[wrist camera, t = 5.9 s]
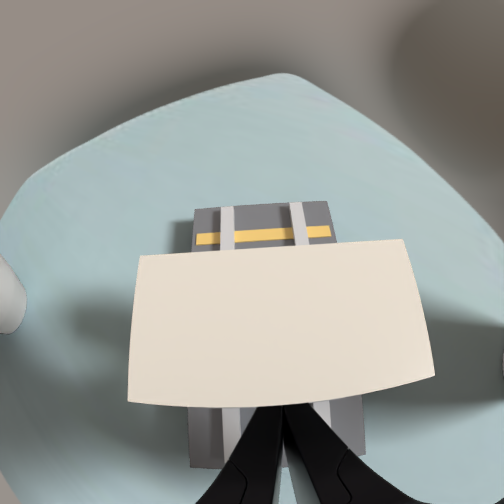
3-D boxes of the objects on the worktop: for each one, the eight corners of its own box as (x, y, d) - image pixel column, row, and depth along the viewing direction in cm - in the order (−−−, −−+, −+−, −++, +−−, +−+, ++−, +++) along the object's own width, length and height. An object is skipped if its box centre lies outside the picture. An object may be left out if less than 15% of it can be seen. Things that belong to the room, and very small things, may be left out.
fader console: (354, 449, 13) (369, 456, 10) (198, 460, 13) (187, 469, 11) (322, 218, 21) (328, 195, 18) (200, 226, 21) (192, 203, 18)
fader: (346, 397, 12) (436, 383, 5) (204, 407, 12) (127, 409, 5) (337, 320, 14) (400, 232, 7) (203, 330, 14) (141, 249, 7)
